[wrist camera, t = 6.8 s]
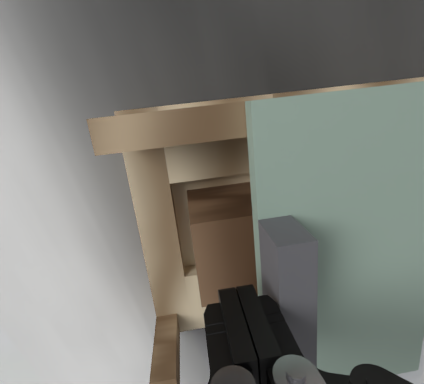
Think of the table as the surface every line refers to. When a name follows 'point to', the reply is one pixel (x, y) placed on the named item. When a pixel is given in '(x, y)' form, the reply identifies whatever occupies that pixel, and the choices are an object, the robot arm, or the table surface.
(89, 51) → the table surface
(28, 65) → the table surface
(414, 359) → the sliding cover
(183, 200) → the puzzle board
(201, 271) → the walnut block
